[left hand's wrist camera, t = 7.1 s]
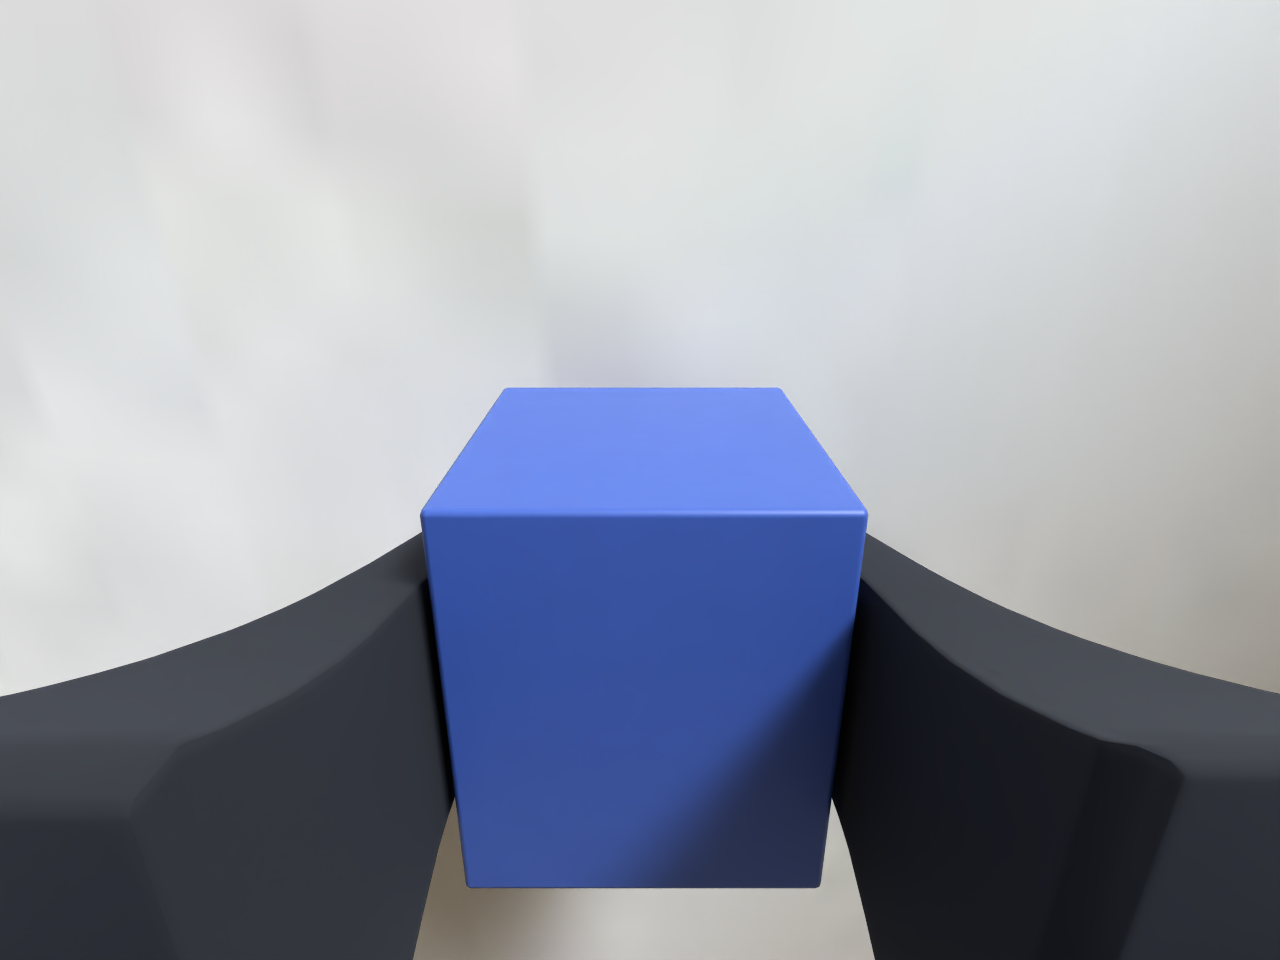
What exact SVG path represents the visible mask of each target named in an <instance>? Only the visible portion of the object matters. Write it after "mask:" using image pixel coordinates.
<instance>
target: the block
mask: <svg viewBox="0 0 1280 960" xmlns="http://www.w3.org/2000/svg"><path fill="white" fill-rule="evenodd" d="M420 519H421V527H422V535H423V543H424V551H425V559H426V567H427V575H428V583H429V591H430V599H431V607H432V615H433V623H434V631H435V639H436V647H437V655H438V663H439V671H440V679H441V687H442V695H443V703H444V711H445V719H446V727H447V735H448V743H449V751H450V759H451V767H452V775H453V783H454V792H455V800H456V808H457V816H458V824H459V832H460V840H461V848H462V856H463V864H464V872H465V880H466V885H467V886H468V887H469V888H817V887H819V886H820V883H821V876H822V869H823V861H824V853H825V845H826V838H827V830H828V822H829V814H830V807H831V799H832V791H833V783H834V776H835V768H836V760H837V752H838V745H839V737H840V729H841V722H842V714H843V706H844V698H845V691H846V683H847V675H848V667H849V660H850V652H851V644H852V636H853V629H854V621H855V613H856V605H857V598H858V590H859V582H860V575H861V567H862V559H863V551H864V544H865V536H866V528H867V520H868V513H867V510H866V509H865V507H864V506H863V504H862V503H861V501H860V500H859V499H858V497H857V496H856V494H855V493H854V492H853V490H852V489H851V487H850V486H849V485H848V483H847V482H846V480H845V479H844V477H843V476H842V475H841V473H840V472H839V470H838V469H837V468H836V466H835V465H834V463H833V462H832V461H831V459H830V458H829V456H828V455H827V453H826V452H825V451H824V449H823V448H822V446H821V445H820V444H819V442H818V441H817V439H816V438H815V437H814V435H813V434H812V432H811V431H810V429H809V428H808V427H807V425H806V424H805V422H804V421H803V420H802V418H801V417H800V415H799V414H798V413H797V411H796V410H795V408H794V407H793V406H792V404H791V403H790V401H789V400H788V398H787V397H786V396H785V394H784V393H783V391H782V390H781V389H779V388H506V389H504V390H503V392H502V393H501V395H500V396H499V398H498V399H497V400H496V402H495V403H494V405H493V406H492V408H491V409H490V411H489V412H488V414H487V415H486V417H485V418H484V420H483V421H482V422H481V424H480V425H479V427H478V428H477V430H476V431H475V433H474V434H473V436H472V437H471V439H470V440H469V441H468V443H467V444H466V446H465V447H464V449H463V450H462V452H461V453H460V455H459V456H458V458H457V459H456V461H455V462H454V463H453V465H452V466H451V468H450V469H449V471H448V472H447V474H446V475H445V477H444V478H443V480H442V481H441V482H440V484H439V485H438V487H437V488H436V490H435V491H434V493H433V494H432V496H431V497H430V499H429V500H428V502H427V503H426V504H425V506H424V507H423V509H422V511H421V514H420Z"/></svg>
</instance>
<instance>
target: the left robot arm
mask: <svg viewBox="0 0 1280 960" xmlns="http://www.w3.org/2000/svg"><path fill="white" fill-rule="evenodd" d="M454 798H455V792H454V783H453V775H452V767H451V759H450V751H449V743H448V735H447V727H446V719H445V711H444V703H443V695H442V687H441V679H440V671H439V663H438V655H437V647H436V639H435V631H434V623H433V615H432V607H431V599H430V591H429V583H428V575H427V567H426V559H425V551H424V543H423V535H422V532H421V533H419V534H418V535H416V536H415V537H413V538H411V539H410V540H408V541H406V542H405V543H403V544H401V545H400V546H398V547H396V548H395V549H393V550H391V551H390V552H388V553H386V554H385V555H383V556H381V557H380V558H378V559H376V560H375V561H373V562H371V563H370V564H368V565H366V566H364V567H362V568H360V569H359V570H357V571H355V572H353V573H351V574H349V575H347V576H346V577H344V578H342V579H340V580H338V581H336V582H335V583H333V584H331V585H329V586H327V587H325V588H323V589H322V590H320V591H318V592H316V593H314V594H312V595H310V596H308V597H306V598H304V599H302V600H300V601H298V602H295V603H293V604H291V605H289V606H287V607H285V608H283V609H280V610H278V611H275V612H273V613H271V614H268V615H266V616H264V617H261V618H259V619H257V620H254V621H252V622H250V623H247V624H245V625H242V626H240V627H237V628H235V629H232V630H230V631H227V632H224V633H221V634H218V635H215V636H212V637H209V638H206V639H204V640H201V641H198V642H195V643H192V644H189V645H186V646H183V647H181V648H178V649H175V650H172V651H169V652H166V653H163V654H160V655H157V656H155V657H151V658H148V659H145V660H142V661H138V662H135V663H131V664H128V665H124V666H121V667H117V668H114V669H110V670H107V671H103V672H100V673H96V674H92V675H88V676H85V677H81V678H77V679H73V680H69V681H65V682H61V683H57V684H54V685H50V686H46V687H41V688H37V689H33V690H29V691H24V692H20V693H16V694H11V695H6V696H1V697H0V960H413V956H414V951H415V947H416V942H417V938H418V933H419V929H420V924H421V920H422V915H423V911H424V907H425V903H426V899H427V894H428V890H429V886H430V882H431V877H432V873H433V869H434V865H435V860H436V856H437V852H438V848H439V845H440V841H441V838H442V835H443V831H444V828H445V825H446V821H447V818H448V815H449V812H450V809H451V807H452V804H453V801H454ZM832 800H833V802H834V805H835V808H836V811H837V813H838V816H839V819H840V823H841V826H842V829H843V832H844V835H845V839H846V842H847V845H848V848H849V852H850V856H851V860H852V865H853V869H854V873H855V877H856V881H857V885H858V889H859V893H860V897H861V901H862V905H863V910H864V914H865V918H866V922H867V926H868V931H869V935H870V940H871V944H872V948H873V953H874V957H875V960H1280V694H1277V693H1273V692H1268V691H1264V690H1260V689H1256V688H1252V687H1248V686H1244V685H1240V684H1236V683H1232V682H1228V681H1224V680H1220V679H1216V678H1212V677H1208V676H1204V675H1200V674H1196V673H1192V672H1188V671H1185V670H1181V669H1178V668H1174V667H1171V666H1167V665H1164V664H1160V663H1157V662H1153V661H1150V660H1146V659H1143V658H1140V657H1137V656H1134V655H1131V654H1128V653H1124V652H1121V651H1118V650H1115V649H1112V648H1109V647H1106V646H1103V645H1100V644H1097V643H1094V642H1091V641H1088V640H1085V639H1082V638H1079V637H1077V636H1074V635H1071V634H1068V633H1066V632H1063V631H1060V630H1058V629H1055V628H1052V627H1050V626H1048V625H1045V624H1043V623H1040V622H1038V621H1035V620H1033V619H1031V618H1028V617H1026V616H1023V615H1021V614H1019V613H1016V612H1014V611H1011V610H1009V609H1006V608H1004V607H1002V606H1000V605H998V604H996V603H993V602H991V601H989V600H987V599H985V598H983V597H981V596H979V595H977V594H975V593H973V592H971V591H969V590H967V589H965V588H963V587H961V586H959V585H957V584H955V583H953V582H951V581H949V580H947V579H945V578H943V577H942V576H940V575H938V574H936V573H934V572H932V571H931V570H929V569H927V568H925V567H923V566H922V565H920V564H918V563H916V562H915V561H913V560H911V559H909V558H908V557H906V556H904V555H903V554H901V553H899V552H897V551H896V550H894V549H892V548H891V547H889V546H887V545H886V544H884V543H882V542H881V541H879V540H877V539H876V538H874V537H872V536H871V535H869V534H867V533H866V536H865V544H864V551H863V559H862V567H861V575H860V582H859V590H858V598H857V605H856V613H855V621H854V629H853V636H852V644H851V652H850V660H849V667H848V675H847V683H846V691H845V698H844V706H843V714H842V722H841V729H840V737H839V745H838V752H837V760H836V768H835V776H834V783H833V791H832Z"/></svg>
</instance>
